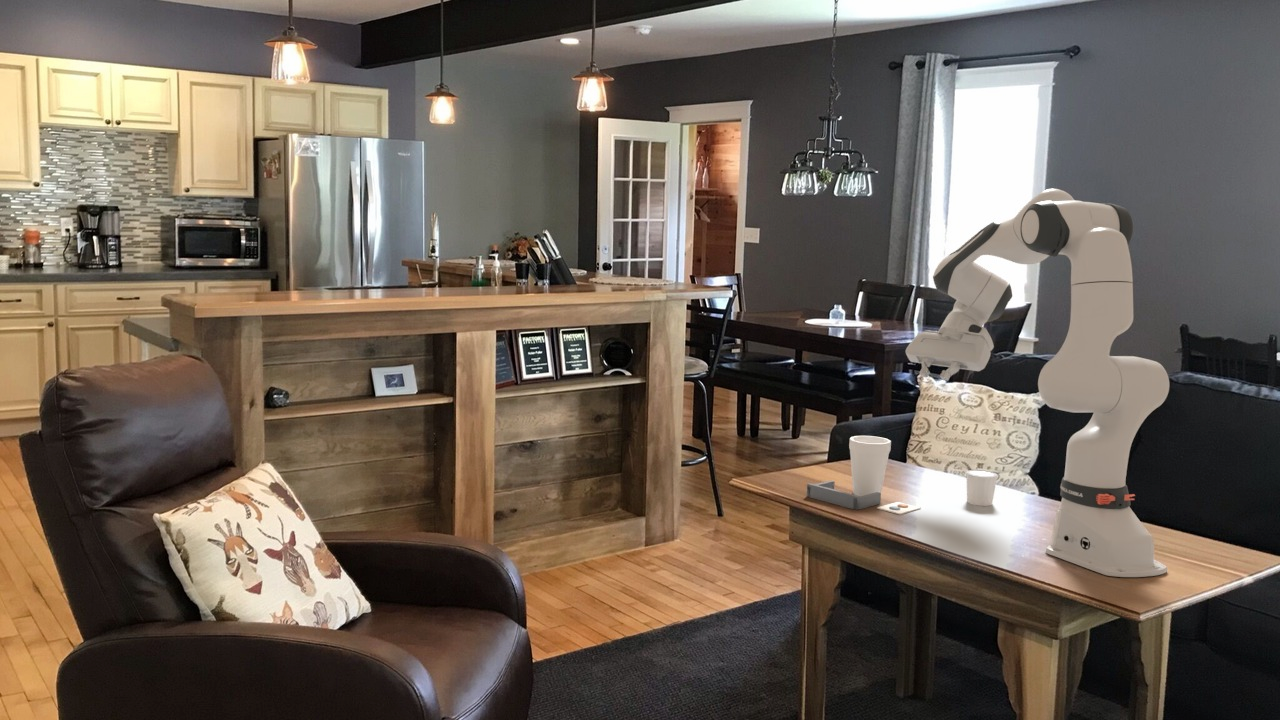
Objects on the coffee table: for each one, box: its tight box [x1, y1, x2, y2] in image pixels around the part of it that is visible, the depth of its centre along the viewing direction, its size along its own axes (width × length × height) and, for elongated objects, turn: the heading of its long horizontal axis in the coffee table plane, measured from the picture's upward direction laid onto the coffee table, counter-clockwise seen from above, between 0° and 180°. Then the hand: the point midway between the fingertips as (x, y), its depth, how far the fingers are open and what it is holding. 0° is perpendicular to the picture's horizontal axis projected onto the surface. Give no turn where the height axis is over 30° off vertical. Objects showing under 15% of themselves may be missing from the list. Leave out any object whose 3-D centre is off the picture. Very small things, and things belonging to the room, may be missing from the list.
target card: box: [876, 501, 921, 516], centre depth 237 cm, size 8×6×1 cm
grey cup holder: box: [806, 480, 882, 511], centre depth 242 cm, size 9×14×3 cm, turn 43°
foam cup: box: [848, 435, 892, 496], centre depth 248 cm, size 10×9×13 cm
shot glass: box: [966, 469, 998, 507], centre depth 244 cm, size 7×7×7 cm
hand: (933, 377), depth 251 cm, fingers open, 4 cm apart
